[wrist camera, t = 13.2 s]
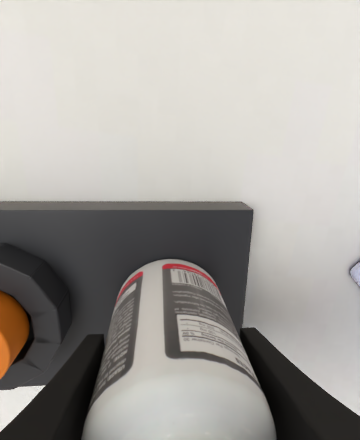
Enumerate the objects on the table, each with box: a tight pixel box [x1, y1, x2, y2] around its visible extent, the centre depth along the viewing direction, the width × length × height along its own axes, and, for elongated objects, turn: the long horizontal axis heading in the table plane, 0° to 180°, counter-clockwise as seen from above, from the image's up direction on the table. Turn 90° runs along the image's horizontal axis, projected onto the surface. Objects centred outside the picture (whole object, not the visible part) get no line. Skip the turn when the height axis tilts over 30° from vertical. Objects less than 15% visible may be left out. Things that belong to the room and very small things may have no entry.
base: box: [0, 202, 253, 390], centre depth 14 cm, size 16×10×4 cm, turn 89°
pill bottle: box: [81, 259, 277, 440], centre depth 9 cm, size 5×5×10 cm
